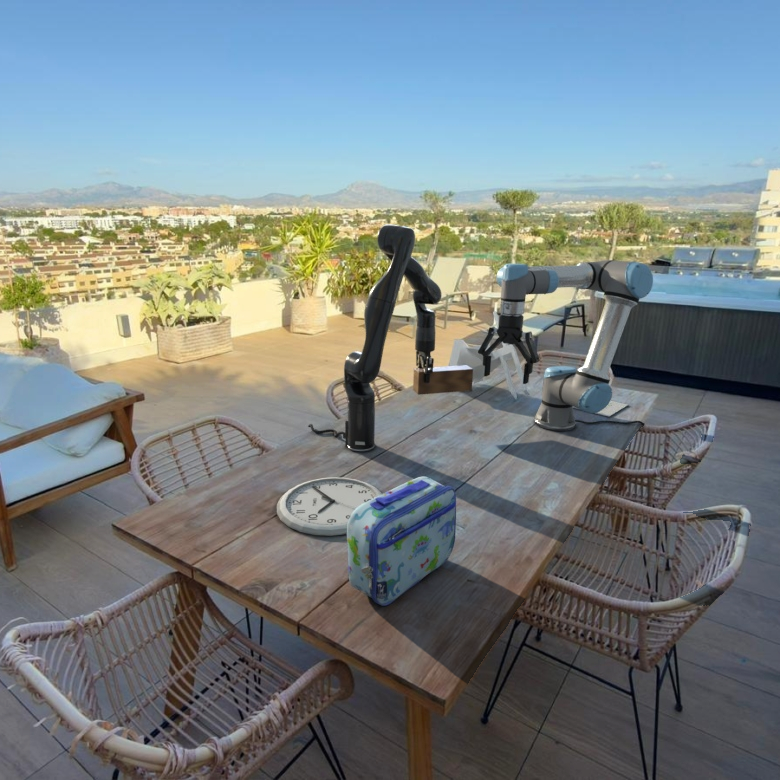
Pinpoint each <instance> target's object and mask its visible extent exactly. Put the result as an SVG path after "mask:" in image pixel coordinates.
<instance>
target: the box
mask: <svg viewBox="0 0 780 780" xmlns="http://www.w3.org/2000/svg"><path fill="white" fill-rule="evenodd" d="M472 379H473V369H472V368H471V367H469V366H467V365H462V366H449V365H447V366H433V373H430V382H429V383H424V369H423V368H418V367H413V385H412V390H413V391H414V393H416V394H417V395H420V396H421V395H433V394H445V393H458V392H460V393H461V392H472V390H473V382H472Z"/></svg>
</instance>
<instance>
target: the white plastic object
mask: <svg viewBox="0 0 780 780" xmlns="http://www.w3.org/2000/svg"><path fill="white" fill-rule="evenodd" d="M492 315H493V319H494V321H495V324H496V325H495V326H496V328H497V329H498V327H499V325H498V324H499V314H498V312H497V311H496V310H495V311H492ZM481 345H482V344H479V345H473V346H469V345H468V343H466V342H465V340H464V339H463V338H460V339H458V338H454V340H453V344H452V349H451V353H450V357H449V362H448V366H462V365H467V366H469V367H471V368H472V369H473V379H472V383H473V384H477V383H480V382H482V381H484V378H486V376H484V371H485V366H483V355H482V354H479V353H478V350H479V349H480V347H481ZM501 345H502V347H500V348H498V349H496V350H495V349H494V350H493V351H492V352H491V353H490V355H488V356H491V366H490V373H492V372H494V371H495V370H496V369H497V368H499V367H500V366H502V370H503V373H504V376H505V380H506V383H507V386H508V390H509V393H510V394H511V395H512V397H513V398H514V399H515V400H517V392H516V391H517V390H516V388H515V385H514V381H513V378H512V375H511V371H510V369H509V365H508V361H510V360H513V363H514V366H515V369H516V372H517V376H518V380H519V382H520V385H521V389H522V391H523V393H524V395H525V396H526V397H528V396H531V395H530V390H529V388H528V387H529V386H528V383H526V384H523V377H524V370H523V369H522V368H523V367H522V366H521V362H520V359H519V355H518V352H517V349H516V347H515V345H514V344H508V343H503V342H501ZM490 346H491V345H490V344H489V345H488V346H487V348H486V350H487V349H488V348H489V347H490ZM486 350H485V351H486Z"/></svg>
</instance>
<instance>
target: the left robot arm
mask: <svg viewBox="0 0 780 780" xmlns="http://www.w3.org/2000/svg"><path fill="white" fill-rule="evenodd" d="M376 238H377V239H376V242H377V246H378V249H379V250H380V251H381V252H382V254H384V255H385V256H386V257H387V258H388V259H389V260H390V264H389V267H388V269H387V270H386V272H385V273H384V274H383V275H382V276H381V277H380V278H379V279H378V280H377V282H376V283H375V284H374V285H373V286H372V287H371V288H370V290H369V292H368V295H367V299H366V303H365V306H364V311H363V319H364V320H363V321H364V331H365V337H364V343H363V348H362V351H357V350H356V351H353V352H351V353H349V354H348V355H347V356H346V359H345V360H344V364H343V365H344V367H343V373H344V374H343V377H344V390H345V394H346V396H347V419H346V420H345V421H344V429H345V430H344V431H337V430H336V429H333V428H331V429H329V428H328V429H323V430H317V429H315V428H314V425H313V424H312V423H309V424H308V425H307V427H308V428H310V430H311V431H312V432H313V433H315V434H325V433H333V435H334V437H339V436H340V435H342V439H344V442H345V444H344V445H345V447H346V448H347V449H348V450H350V451H352V452H356V453H363V452H364V453H365V452H369V451H372V450H374V449H375V447H376V446H375V445H376V444H375V443H376V442H375V438H376V437H375V436H376V435H375V433H376V432H375V430H376V427H375V426H376V395H375V394H376V392H375V391H374V389H373V388H372V386H371V383H372V382H374V381H375V380H376V379H377V377H378V375H379V373H380V370H381V365H382V360H383V353H384V349H385V343H386V340H387V336H388V333H389V328H390V324H391V321H392V317H393V315H394V311H395V307H396V304H397V299H398V296H399V291H400V288H401V286H402V282H403V279H404V278H405V280H406V281H407V283H408V284H409V286H410V288H411V289H412V298H413V299H412V300H413V304H414V309H415V313H416V329H415V336H414V337H415V340H414V341H415V342H414V349H415V366H416V367H417V368H423V369H424V383H429V382H430V373H433V367H434V362H435V358H433V357H432V356H431V353H432V352H434V351H435V350H436V318H437V317H436V312H435V311H434V310H431V309H429V308H428V307H427V306H426V305H434V306H435V305H437V304H439V302H440V301H441V300H442V296H443V295H442V289H441V288H440V286H439V285H438V283H436V282H435V281H434V280H433V279H432V278H431V277H429V276H428V273H426V270H425V268H424V267H423V266H422V265H421V263H419V262H418V261H417V260H416V259H415V258H414V257H413V256H412V255H413V252H414V249H415V245H416V233H415V231H414V229H412V228H411V227H408V226H402V225H395V224H384V225H383V226H382V227H381V228H380V229H379V230H378V233H377V237H376Z"/></svg>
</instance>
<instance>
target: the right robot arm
mask: <svg viewBox="0 0 780 780" xmlns="http://www.w3.org/2000/svg"><path fill="white" fill-rule="evenodd" d="M496 283H497V285H498V286H499V288H500V301H499V302H500V303H499V313H500V314H498V316H499V324H498V325H499V327H498V328H497V327H495V326H490V327H489V328H488V330H487V331H488V332H487V335H486V337H485V338H484V340H483V342H482V343H481V344H480V345H481V347H480V349H479V350H478V353H479V354H482V355H483V366H485V371H484V376H485V377H488V376H490V375H491V372H490V366H491V356H488V355H490V353H491V352H492V351H493V350H495V349H496V348H497V347H498V346H499V345H501V344H502V342H503V343H507V344H508V345H510V344H512V345H514V347H515V348H517V349H518V350H519V353H520V354H521V356H522V357H523V358H524V360H525V362H526V363H524V368H523V375H524V377H523V384H529V381H530V375H531V374H533V368H534V364H537V363H539V362H540V359H541V358H540V356H539V355H538V351H537V349H536V346H535V343H534V339H533V332H532V331H523V326H524V314H525V305H526V297H527V296H528V295H547V294H548V295H549V294H553V293H554V292H556V291H557V289H558V288H577V289H578V290H588V291H594V292H599V293H603V294H602V295H603V298H604V301H605V304H604V306H603V308H602V312H601V315H600V318H599V320H598V323H597V326H596V329H595V331H594V335H593V336H592V337H593V338H592V340H591V343H590V346H589V349H588V351H587V354H586V357H585V360H584V363H583V365H582V366H581V367H579V368H577V367H574V366H566V365H565V366H564V365H559V366H558V365H557V366H550V367H547V368H546V369H545V370H544V375H543V381H542V392H541V402H540V405H539V407H538V410H537V411H536V413H535V416H534V424H535V425H536V426H537V427H539V428H542V429H544V430H549V431H556V432H567V431H572V430H574V429H575V428H576V423H580V424H584V425H594V424H595V425H596V424H601V423H603V424H605V423H607V424H616V425H617V424H618V425H632V424H637V423H638V424H640V425H642V426H645V425H646V424H645V423H644V422H643V421H641V420H633V421H617V420H616V421H615V420H596V421H584V420H580V419H576V418H575V417H576V416H575V413H574V407H576V408H578V409H577V410H580V411H582V412H586V413H589V414H596V413H597V412H600V411H601V410H603V409H604V408H605V407H606V406H607V405H608V404H609V402H610V401H612V397H613V388H612V386H611V385H610V381H611V378H610V376H609V370H610V367H611V365H612V362H613V360H614V356H615V354H616V352H617V349H618V346H619V343H620V341H621V337H622V334H623V332H624V329H625V326H626V323H627V321H628V318H629V315H630V312H631V310H632V308H635V307H636V306H638V304H639V302H640V300H641V299H643V298H646V297H647V296H649V294H650V293H651V291H652V288H653V286H654V285H653V284H654V275H653V271H652V270H651V267H650V266H649V265H648V264H646V263H643V262H639V261H633V260H632V261H630V260H629V261H627V260H614V259H606V260H604V259H603V260H596V261H595V260H594V261H585V262H580V263H578V264H576V265H544V266H543V265H542V266H541V265H540V266H539V265H538V266H534V265H533V266H529V265H528V264H526V263H506V264H504V266H502V267H501V268H500V269H499V270H498V271H497V274H496ZM496 334H497V336H498V337H497V338H496V339H495V341H494V342H493V343H492V344H491V345H490V343H491V341H492V339H493V338H494V336H495V335H496ZM522 337H523V339H524V340H525V343H526V345H524V341H523V340H522ZM488 345H490V347H489V348H488V349H487V350H486V348H487V346H488ZM526 346H527V347H526ZM485 350H486V351H485ZM576 408H575V409H576Z"/></svg>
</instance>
